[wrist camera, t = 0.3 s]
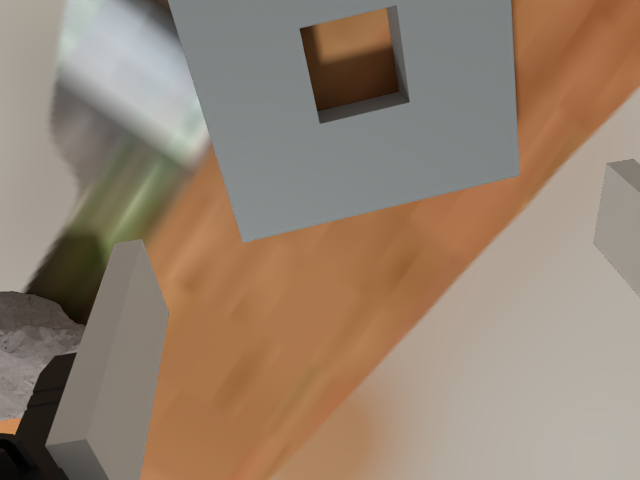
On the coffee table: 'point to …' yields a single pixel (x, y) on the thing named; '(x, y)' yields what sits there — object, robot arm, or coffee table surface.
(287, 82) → the leg board
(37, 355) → the decorative stone
